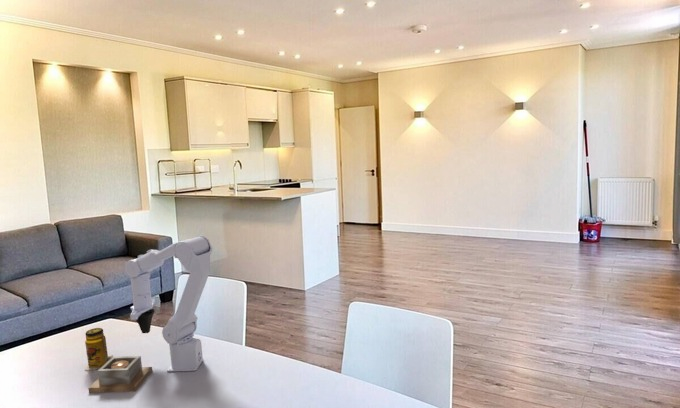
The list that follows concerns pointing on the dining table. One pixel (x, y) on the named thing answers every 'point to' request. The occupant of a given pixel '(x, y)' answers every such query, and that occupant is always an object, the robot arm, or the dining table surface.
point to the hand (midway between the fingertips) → (146, 332)
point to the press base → (121, 376)
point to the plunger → (120, 364)
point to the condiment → (96, 349)
